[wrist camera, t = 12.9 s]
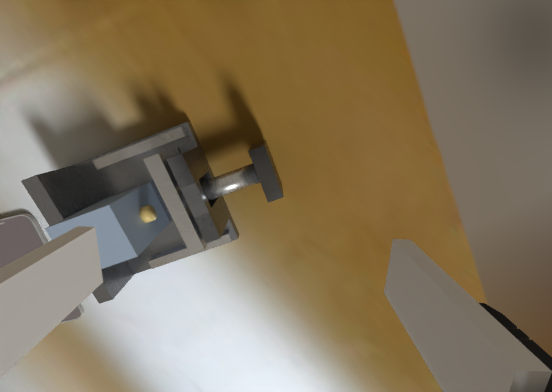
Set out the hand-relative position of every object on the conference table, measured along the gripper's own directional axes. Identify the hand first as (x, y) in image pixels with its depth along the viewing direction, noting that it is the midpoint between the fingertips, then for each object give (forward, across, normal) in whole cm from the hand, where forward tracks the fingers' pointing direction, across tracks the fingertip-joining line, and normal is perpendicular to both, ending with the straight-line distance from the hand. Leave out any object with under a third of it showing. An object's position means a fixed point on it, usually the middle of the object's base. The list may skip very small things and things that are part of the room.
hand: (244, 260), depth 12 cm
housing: (+18, -14, -5) cm, 24 cm away
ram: (+19, -4, 0) cm, 19 cm away
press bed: (+20, -12, -4) cm, 24 cm away
